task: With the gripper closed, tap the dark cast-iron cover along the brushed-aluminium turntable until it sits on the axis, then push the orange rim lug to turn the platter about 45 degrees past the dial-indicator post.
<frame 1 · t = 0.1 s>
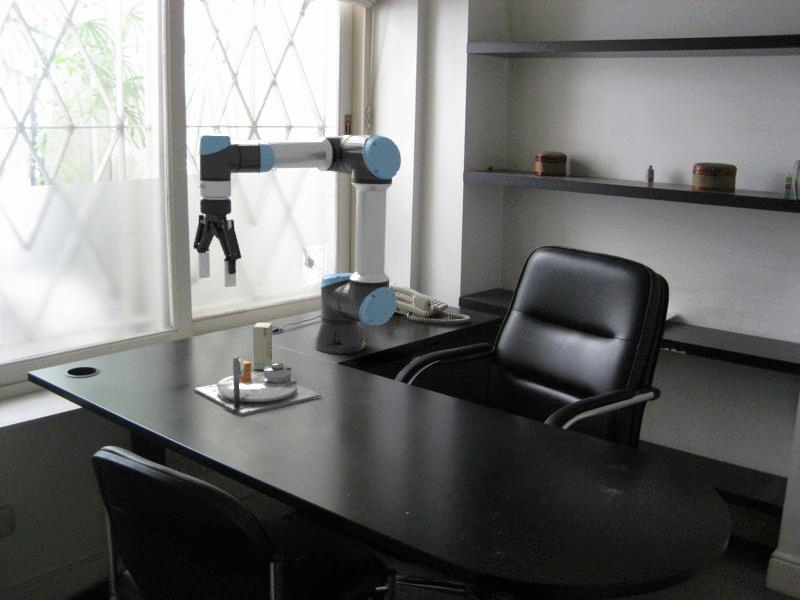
hand: (217, 282, 216), 28 cm above the table, fingers open, 13 cm apart
turntable base: (257, 394, 217), on the table
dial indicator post: (236, 409, 206), resting on turntable base
platter: (257, 378, 216), point 4 cm above the table, hinge at 0.0°, touching cover
skincare box: (262, 367, 241), on the table
cover: (277, 379, 221), point 3 cm above the table, touching platter
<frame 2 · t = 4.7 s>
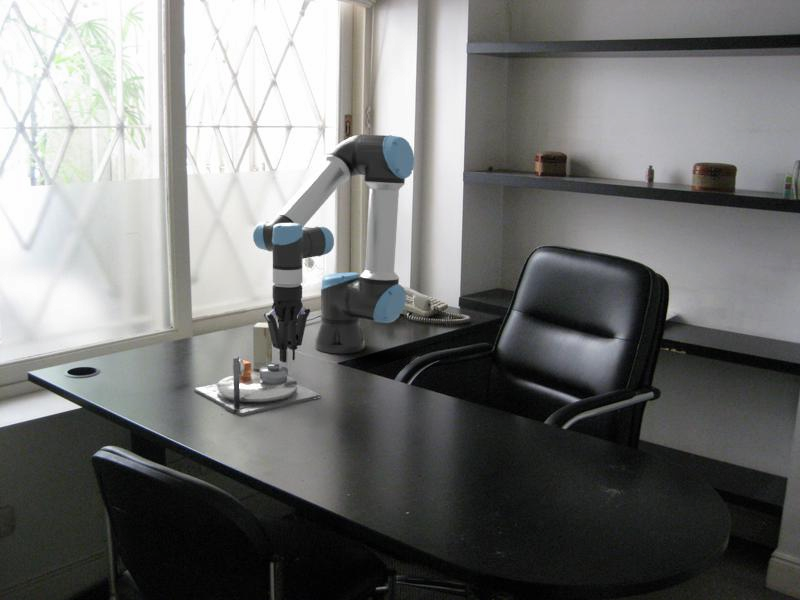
hand: (287, 373, 222), 4 cm above the table, fingers closed
cover: (273, 380, 220), point 3 cm above the table, touching platter
everything else where it was.
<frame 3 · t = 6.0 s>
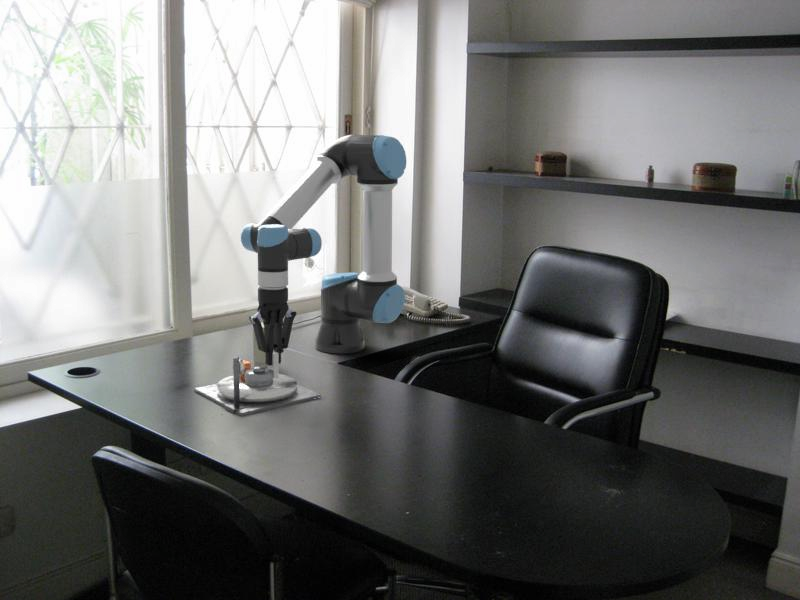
hand: (273, 376, 220), 4 cm above the table, fingers closed
cover: (259, 383, 217), point 3 cm above the table, touching gripper, platter
everything else where it was.
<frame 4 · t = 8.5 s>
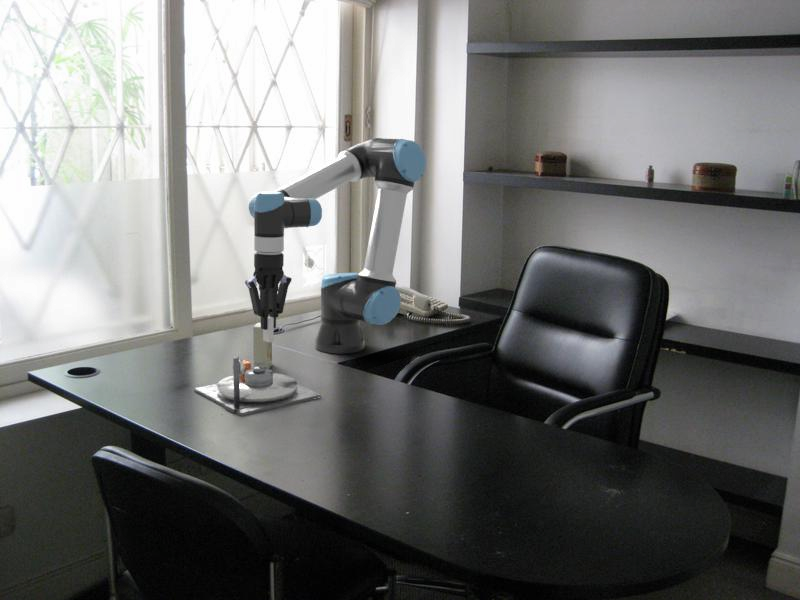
hand: (268, 340, 225), 11 cm above the table, fingers closed
cover: (259, 383, 217), point 3 cm above the table, touching platter
everything else where it was.
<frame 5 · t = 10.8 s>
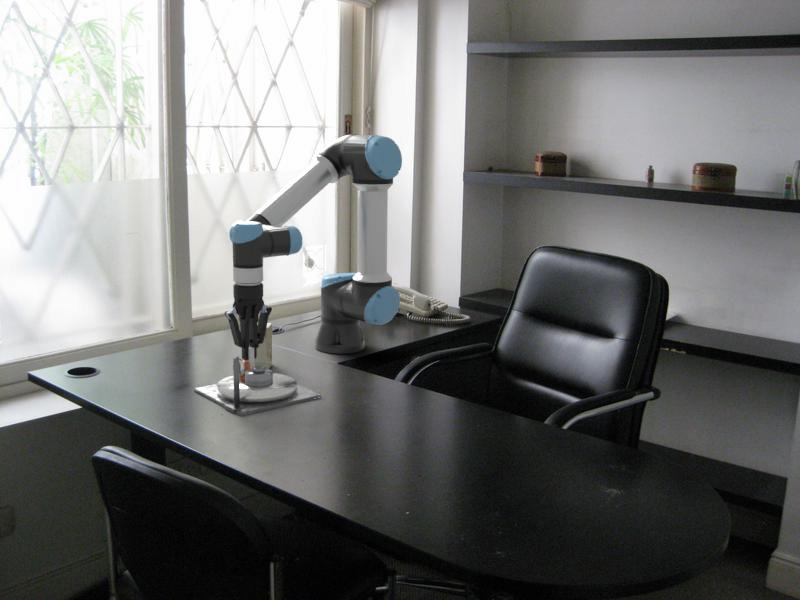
hand: (249, 371, 223), 4 cm above the table, fingers closed
platter: (257, 378, 216), point 4 cm above the table, hinge at 2.2°, touching cover, gripper
everything else where it was.
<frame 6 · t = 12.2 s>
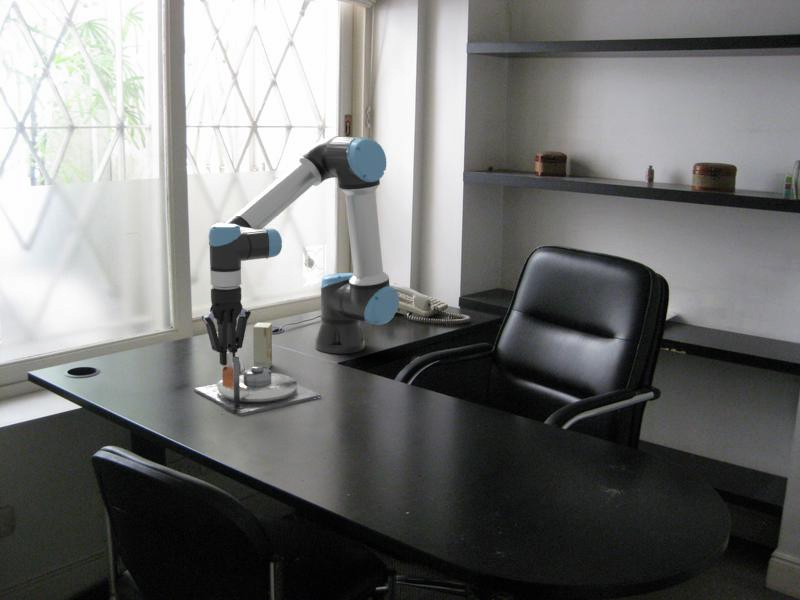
hand: (227, 376, 219), 4 cm above the table, fingers closed
platter: (257, 378, 216), point 4 cm above the table, hinge at 54.6°, touching cover, gripper
everything else where it was.
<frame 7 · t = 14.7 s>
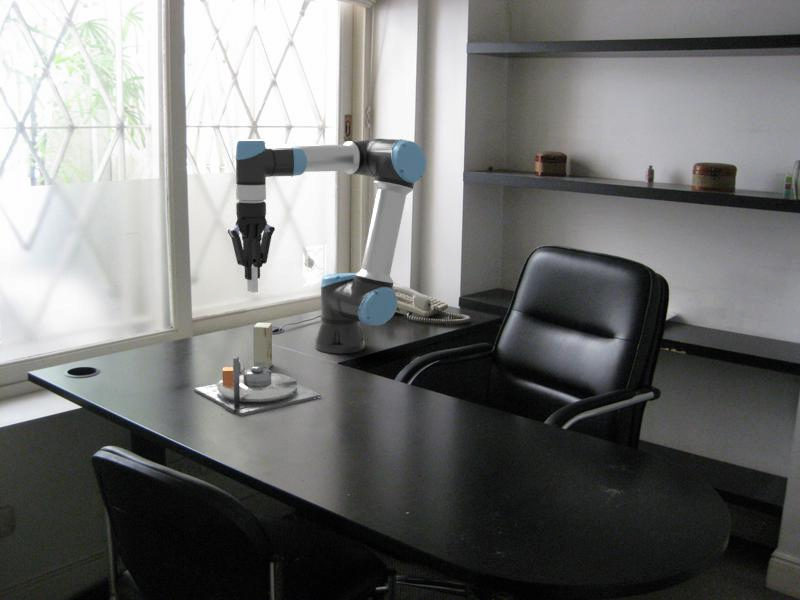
hand: (252, 291, 223), 24 cm above the table, fingers closed
platter: (257, 378, 216), point 4 cm above the table, hinge at 55.6°, touching cover
everything else where it was.
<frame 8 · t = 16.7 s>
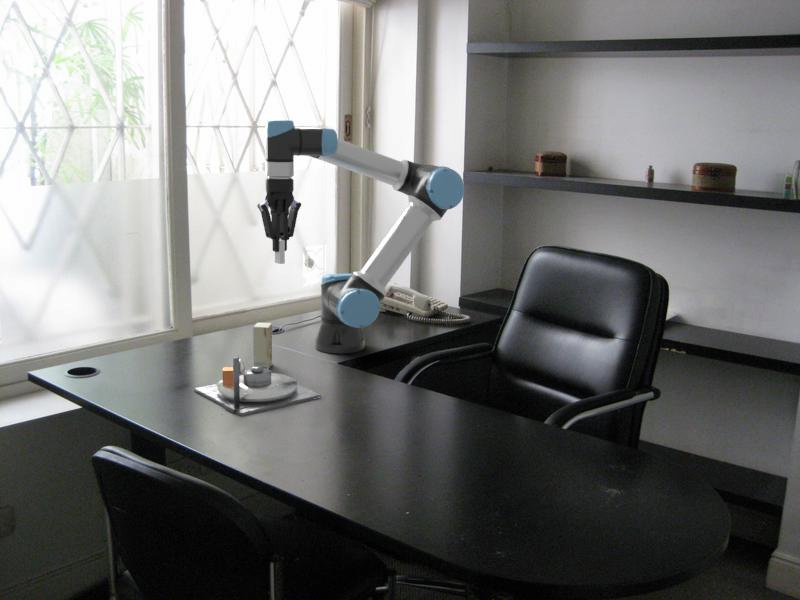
hand: (279, 262, 237), 29 cm above the table, fingers closed
nothing on the table moved.
at the end: cover 0.5 cm from the platter (horizontally); platter at +56° (first picture: +0°); cover tilted 0° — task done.
